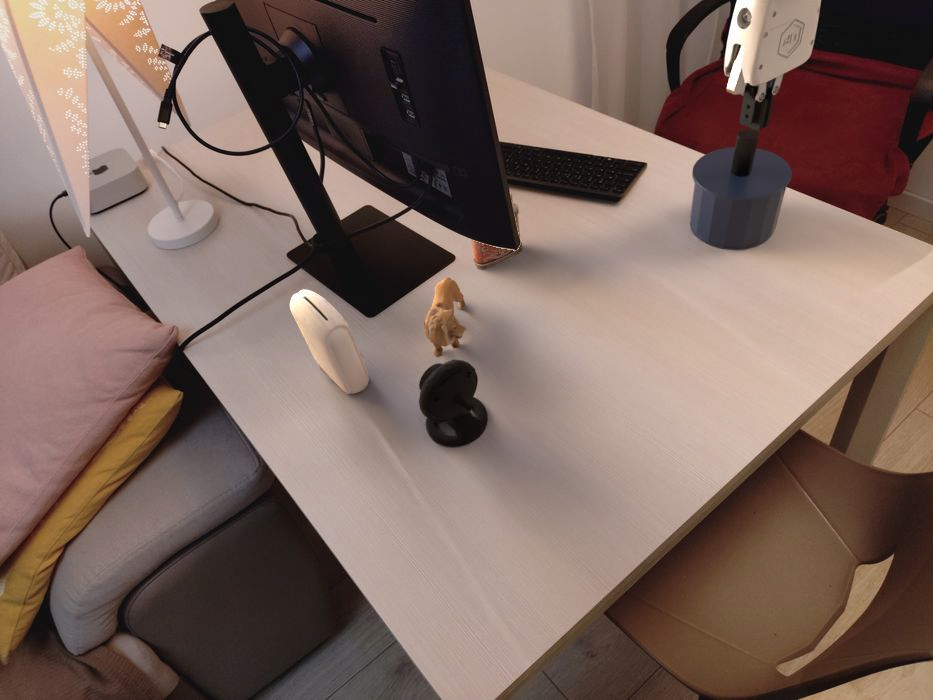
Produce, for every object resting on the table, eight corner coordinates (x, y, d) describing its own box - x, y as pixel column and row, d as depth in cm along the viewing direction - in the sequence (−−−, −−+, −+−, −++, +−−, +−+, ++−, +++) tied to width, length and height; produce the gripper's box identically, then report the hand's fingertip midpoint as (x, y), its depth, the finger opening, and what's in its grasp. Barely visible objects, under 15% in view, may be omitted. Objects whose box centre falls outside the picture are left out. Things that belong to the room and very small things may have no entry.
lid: (811, 178, 84) (824, 133, 80) (742, 217, 81) (752, 172, 76) (737, 144, 92) (745, 101, 88) (672, 178, 89) (676, 135, 84)
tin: (792, 225, 90) (807, 174, 84) (733, 260, 87) (743, 210, 81) (729, 192, 98) (738, 143, 91) (672, 223, 95) (678, 174, 88)
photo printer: (311, 359, 86) (278, 293, 77) (337, 342, 88) (308, 275, 79) (348, 401, 80) (317, 334, 71) (376, 382, 82) (349, 315, 73)
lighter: (481, 273, 93) (471, 217, 86) (470, 261, 96) (460, 206, 88) (527, 251, 95) (521, 195, 88) (515, 240, 97) (508, 184, 90)
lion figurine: (474, 370, 81) (463, 321, 74) (433, 376, 81) (419, 328, 74) (465, 294, 91) (455, 245, 84) (429, 300, 91) (416, 251, 84)
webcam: (461, 388, 79) (447, 333, 72) (502, 420, 75) (492, 365, 67) (413, 425, 76) (394, 372, 69) (453, 461, 72) (437, 409, 64)
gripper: (760, -6, 63) (733, 158, 76) (862, -51, 67) (819, 113, 80) (704, -20, 68) (687, 137, 81) (801, -61, 72) (771, 95, 85)
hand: (753, 124), depth 81 cm, fingers closed
